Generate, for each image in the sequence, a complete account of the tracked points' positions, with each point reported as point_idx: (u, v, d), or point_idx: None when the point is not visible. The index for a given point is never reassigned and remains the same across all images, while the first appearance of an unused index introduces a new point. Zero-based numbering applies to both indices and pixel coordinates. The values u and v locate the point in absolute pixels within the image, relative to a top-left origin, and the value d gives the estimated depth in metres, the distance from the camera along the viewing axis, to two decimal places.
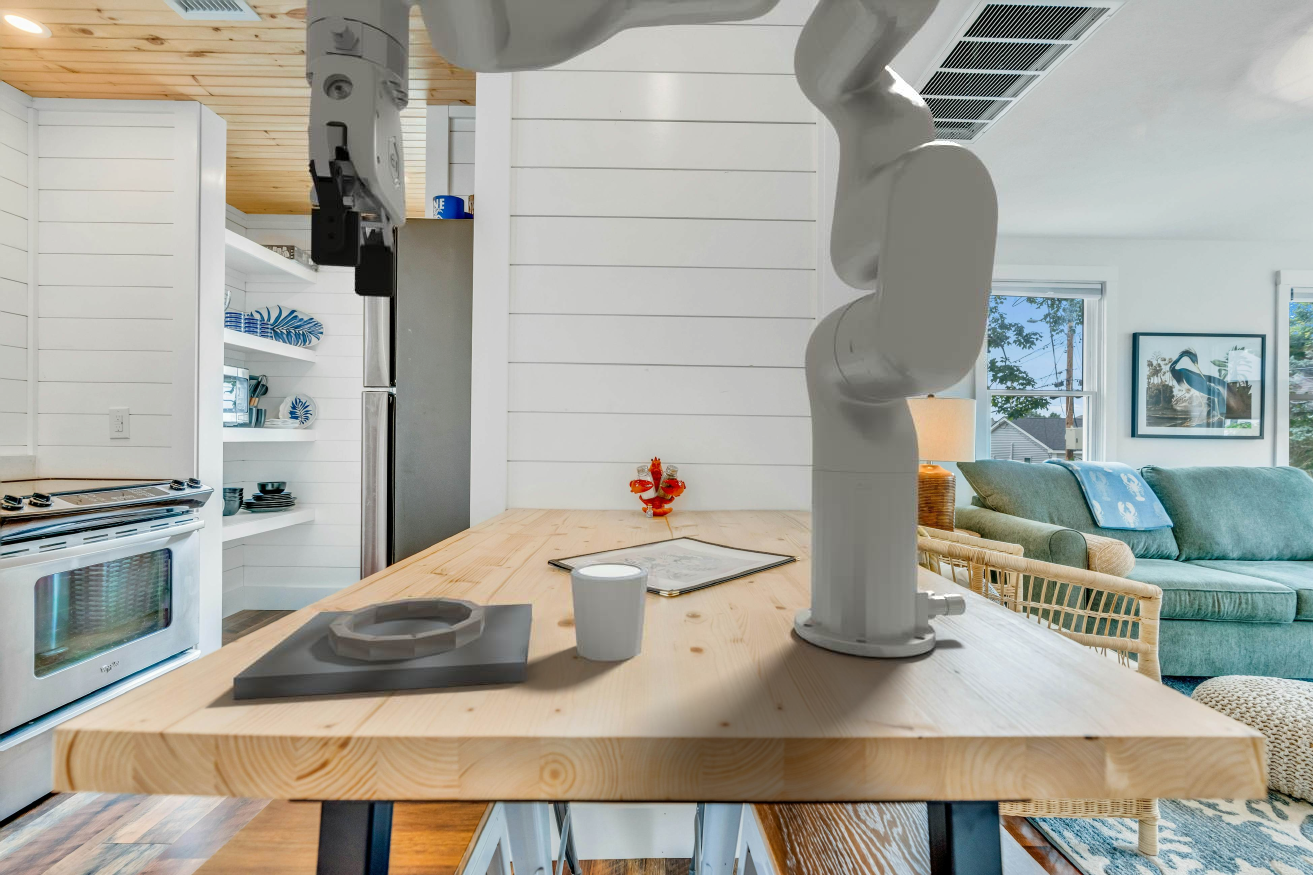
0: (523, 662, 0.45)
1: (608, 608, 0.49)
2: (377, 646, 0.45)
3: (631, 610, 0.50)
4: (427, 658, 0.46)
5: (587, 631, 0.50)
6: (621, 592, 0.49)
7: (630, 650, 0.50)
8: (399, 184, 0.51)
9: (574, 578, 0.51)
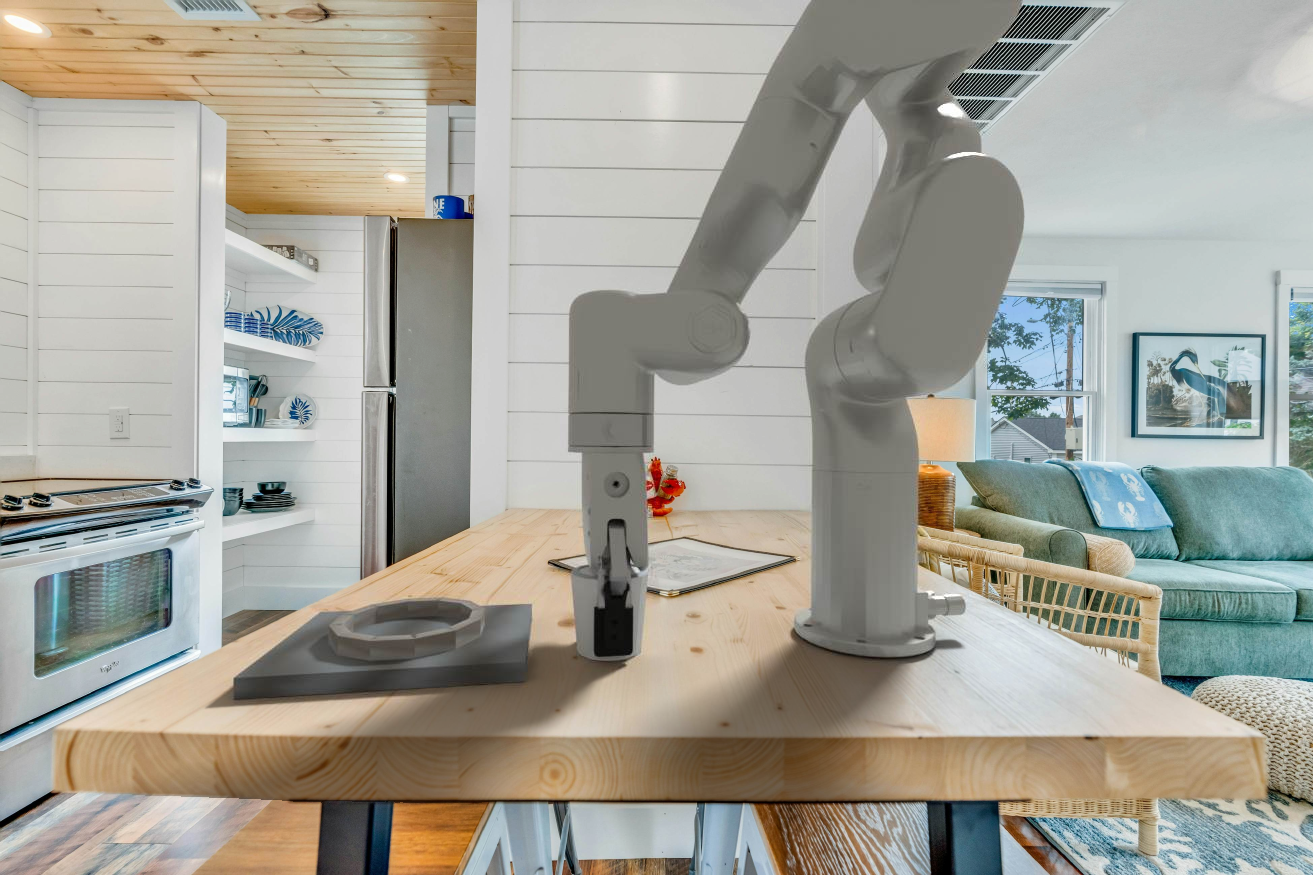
0: (523, 662, 0.45)
1: None
2: (377, 646, 0.45)
3: None
4: (427, 658, 0.46)
5: (587, 631, 0.50)
6: None
7: None
8: None
9: (574, 578, 0.51)
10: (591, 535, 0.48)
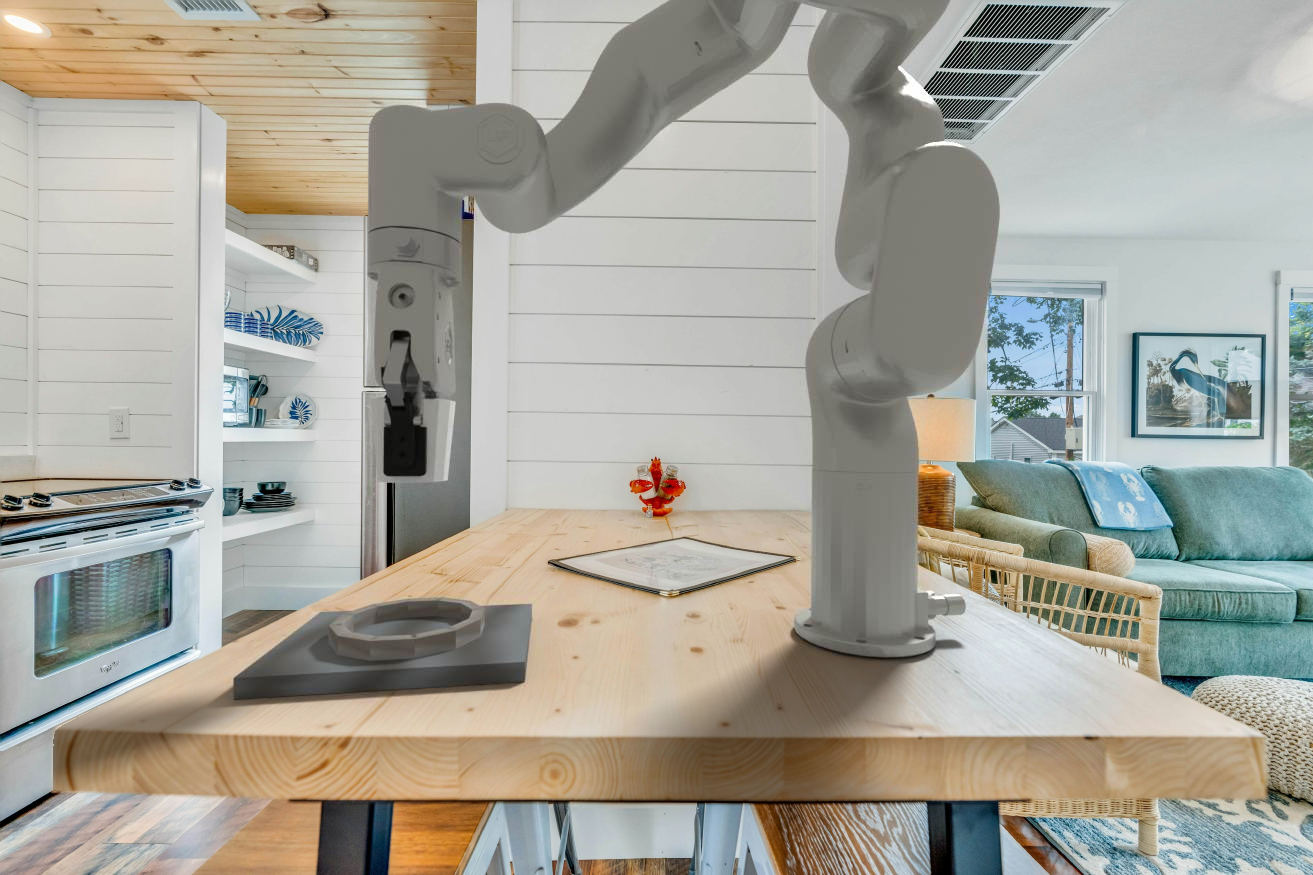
0: (523, 662, 0.45)
1: None
2: (377, 646, 0.45)
3: None
4: (427, 658, 0.46)
5: (381, 453, 0.49)
6: None
7: (426, 474, 0.49)
8: (452, 361, 0.54)
9: None
10: (374, 347, 0.47)
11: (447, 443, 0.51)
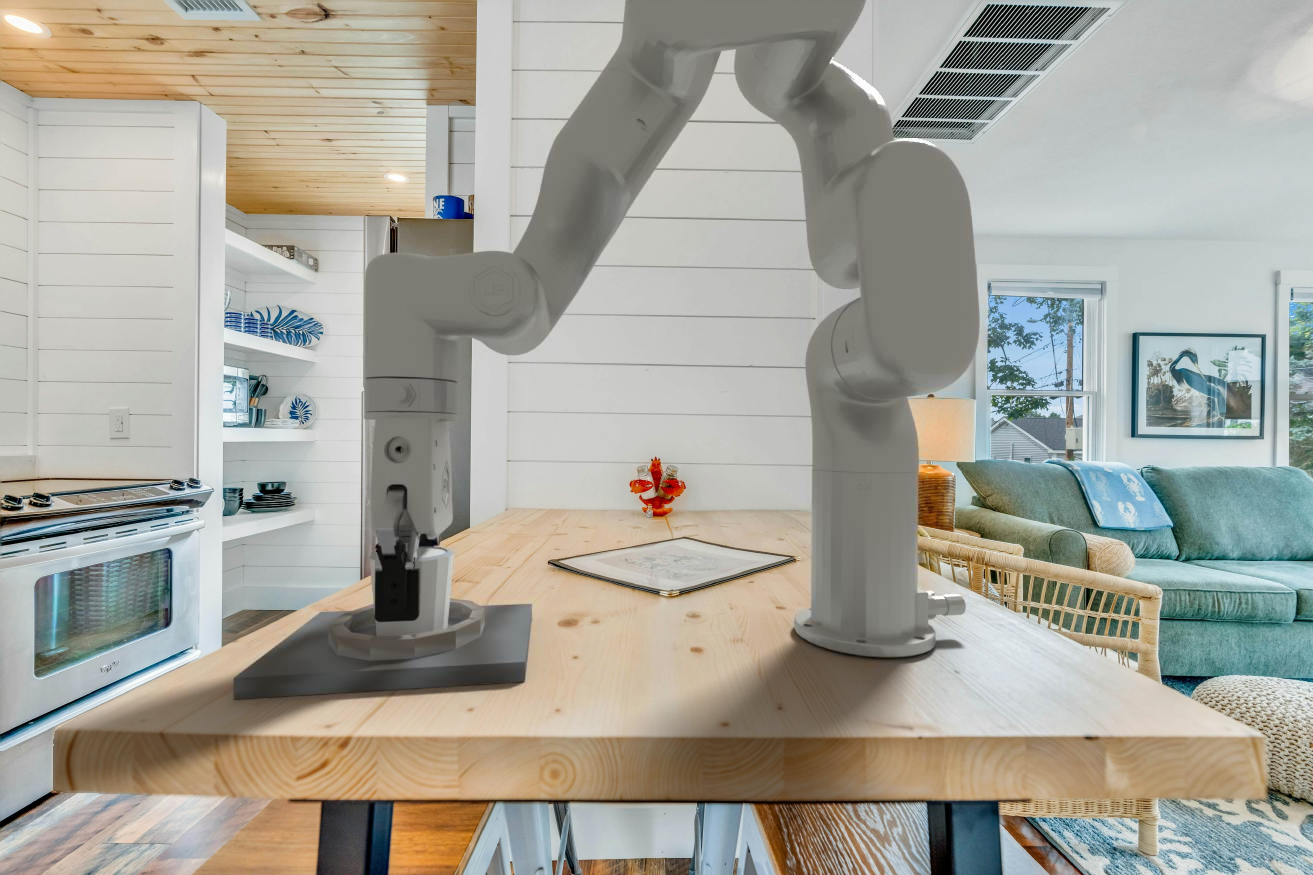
0: (523, 662, 0.45)
1: None
2: (377, 646, 0.45)
3: (425, 593, 0.49)
4: (427, 658, 0.46)
5: None
6: None
7: None
8: (448, 495, 0.54)
9: None
10: (371, 501, 0.47)
11: (446, 597, 0.51)
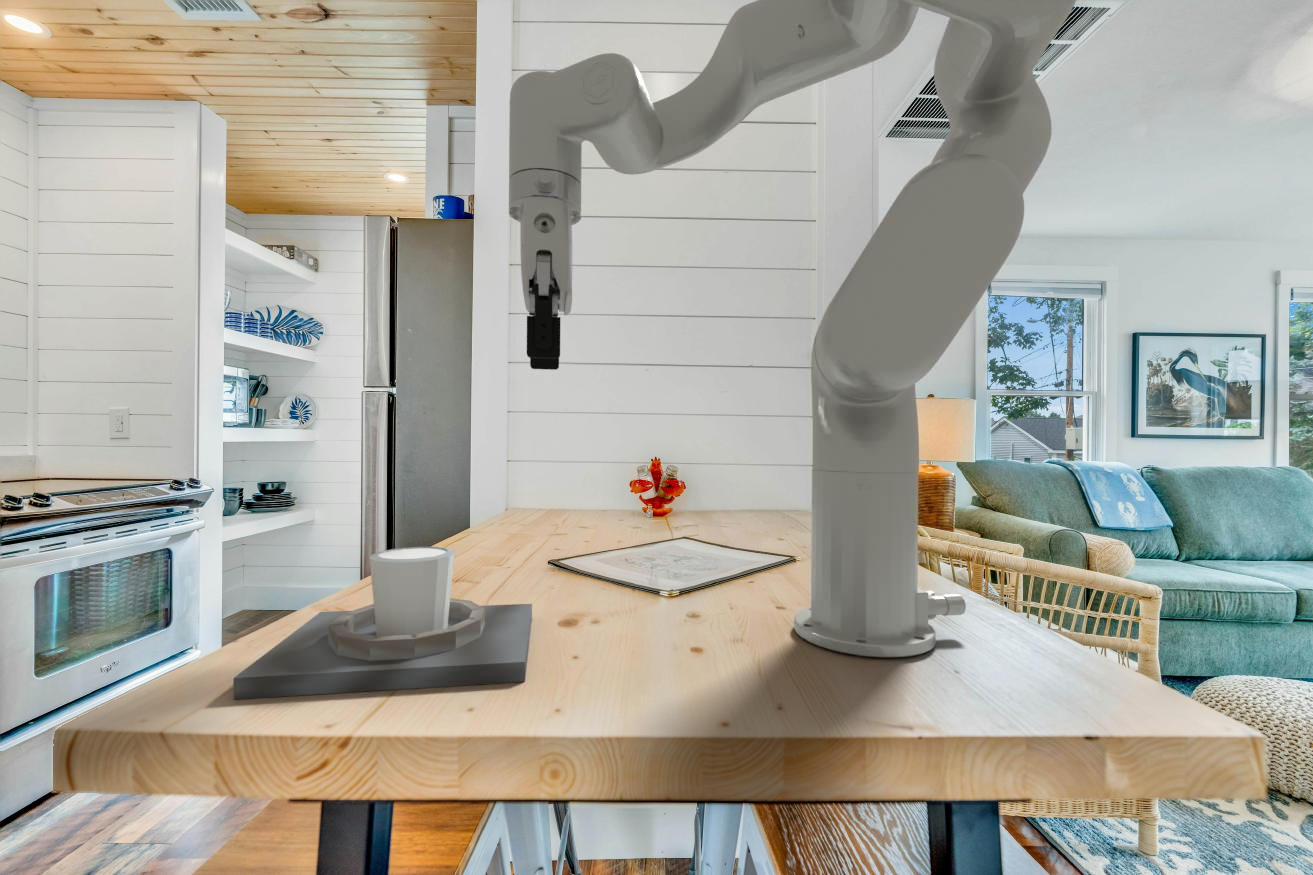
0: (523, 662, 0.45)
1: (398, 590, 0.48)
2: (377, 646, 0.45)
3: (425, 593, 0.49)
4: (427, 658, 0.46)
5: (380, 614, 0.49)
6: (412, 574, 0.49)
7: None
8: None
9: (370, 560, 0.50)
10: (523, 263, 0.58)
11: (446, 597, 0.51)
